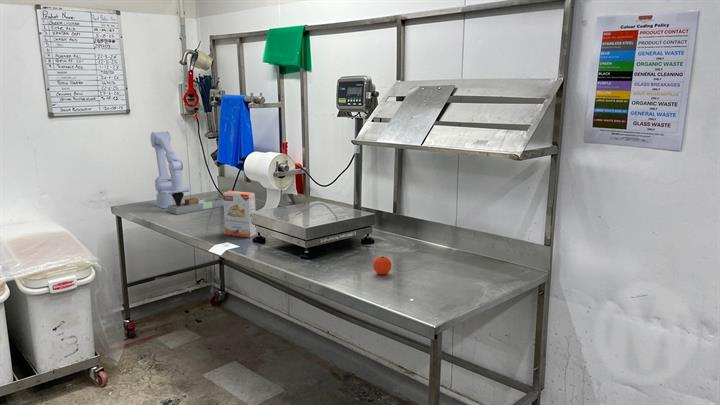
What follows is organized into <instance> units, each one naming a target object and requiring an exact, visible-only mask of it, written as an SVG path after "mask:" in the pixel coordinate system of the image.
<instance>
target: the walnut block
mask: <svg viewBox="0 0 720 405" xmlns="http://www.w3.org/2000/svg"><path fill="white" fill-rule="evenodd" d="M184 203H185V206H188V205H194V204H199V198H195V197H191V198H185V199H184Z"/></svg>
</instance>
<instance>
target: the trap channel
mask: <svg viewBox="0 0 720 405" xmlns="http://www.w3.org/2000/svg"><path fill="white" fill-rule="evenodd" d="M220 208H224V200H223V198H220V197H210V198H205V199H200V200H199V204H194V205H188V206H185V202H181V205H180V206H176V203H173V205H168V208H167V211H166V213H170V214H173V215H176V216H181V215H186V214H192V213H193V214H194V213H196V212H197V213H198V212H203V211H209V210H214V209H220Z"/></svg>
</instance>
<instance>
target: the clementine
mask: <svg viewBox="0 0 720 405" xmlns="http://www.w3.org/2000/svg"><path fill="white" fill-rule="evenodd" d="M372 267H373V268H372V269H373V270H374V272H375V273H377V274H378V275H380V276H381V275H382V276H383V275H387V274H389V272H391V270H392V261H391V259H390V258H388V256H385V255H379V256H378V257H376V258H375V259H374V260H373V263H372Z"/></svg>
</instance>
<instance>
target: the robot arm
mask: <svg viewBox="0 0 720 405" xmlns="http://www.w3.org/2000/svg"><path fill="white" fill-rule="evenodd" d="M171 137H172V136H171V133H170V132H169V131H157V132H155V131H152V132H151V134H150V145H151V147H152V148H154V152H155V156H156V163H157V170H158V177H157V176H156V178H155V179H154V187H155V191H156V192H157V194H156V205H155V207H157V208H161V209H168V205H174V204H176V206H180V205H181V203H182V201H183V198H184V196H185V193H190V192H191V189H190V188H189V187H187V188H183V175H182V174H183V173H182V171H183V169H184V165H183V161H182V160H181V159H179V158H178V156H177V153H176V151H174V150H173V149H172V146H171ZM167 162H168V166H167ZM168 170H169V173H168ZM169 174H170V175H169ZM173 200H174V203H173Z"/></svg>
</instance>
